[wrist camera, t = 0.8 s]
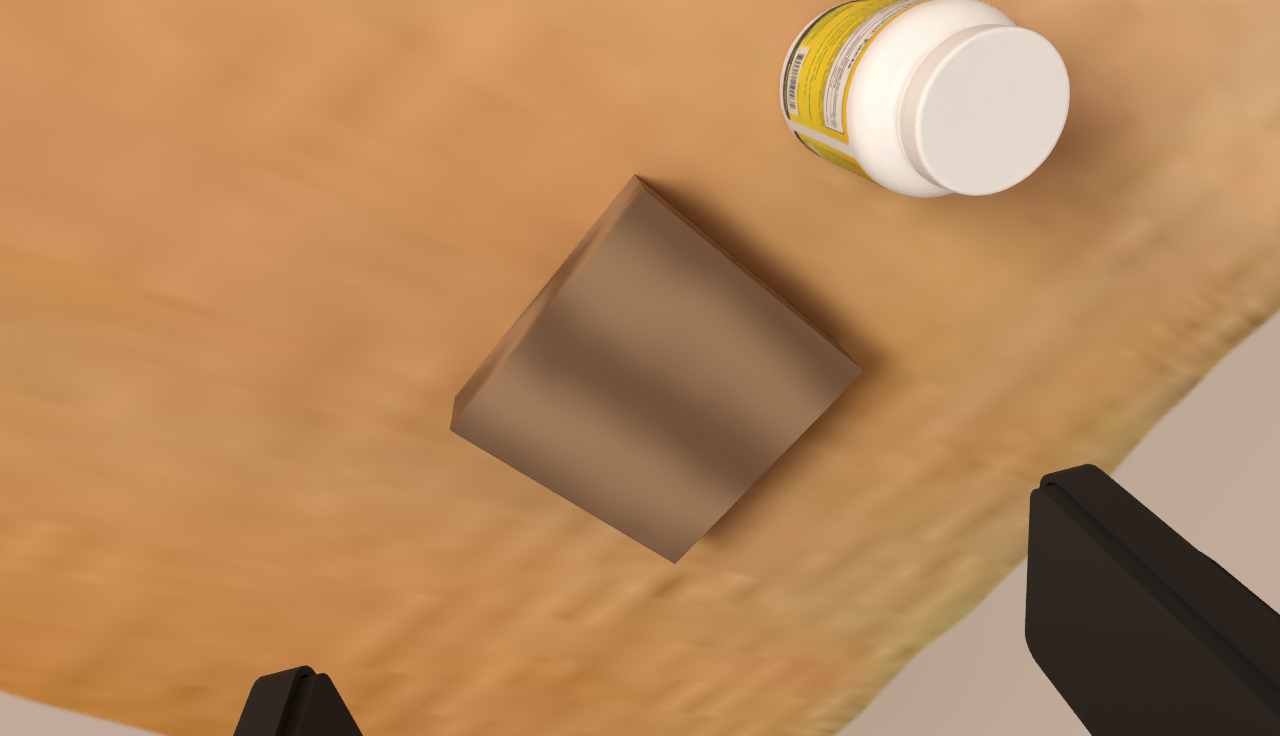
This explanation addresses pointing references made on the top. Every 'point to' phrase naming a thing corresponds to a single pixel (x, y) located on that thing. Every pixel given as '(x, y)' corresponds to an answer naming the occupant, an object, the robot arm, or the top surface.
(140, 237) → the top surface
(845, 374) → the walnut base
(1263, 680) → the robot arm
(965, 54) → the pill bottle
